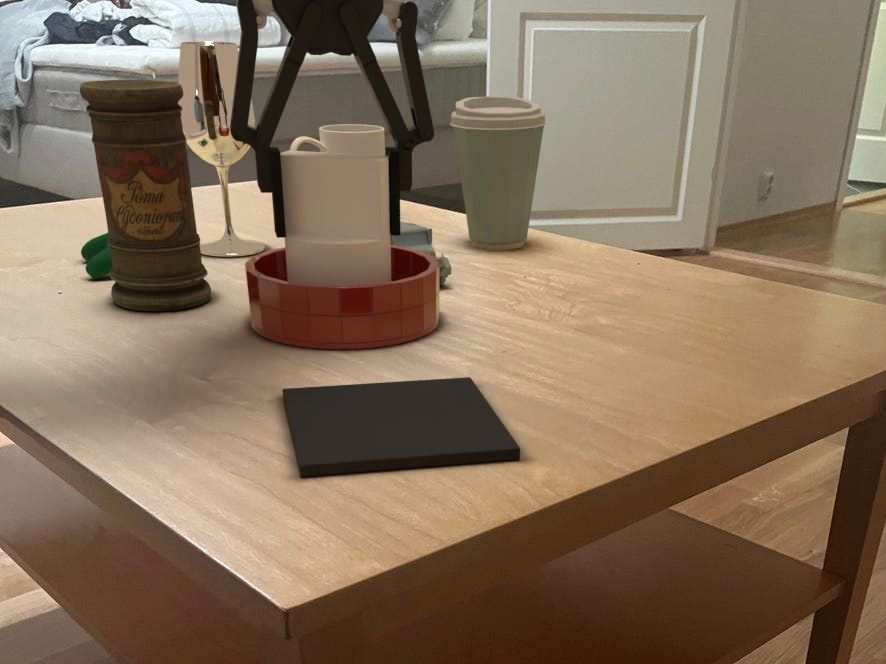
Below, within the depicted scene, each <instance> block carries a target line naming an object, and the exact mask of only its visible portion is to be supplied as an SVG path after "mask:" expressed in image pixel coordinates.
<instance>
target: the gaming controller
mask: <svg viewBox="0 0 886 664" xmlns="http://www.w3.org/2000/svg"><path fill="white" fill-rule="evenodd" d="M108 237H109V234H108V232H106V233H102V234H100V235H98V236H96V237H93V238H91V239H90V240H88V241H86V242H85V244H84V245H83V246H82V247H81V250H80V255H81V257H82V259H84V260H85V261H86V262H87V263H86V265H85V272H86V274H87V275H89V277H90V278H91V279H92V280H97V279H101V278H104V277H108V276H110V273H111V269H112V267H113V265H112V259H111V252H110V247H109V244H108Z"/></svg>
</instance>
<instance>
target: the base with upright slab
mask: <svg viewBox="0 0 886 664" xmlns="http://www.w3.org/2000/svg"><path fill="white" fill-rule="evenodd" d="M280 157H281V171H282V186H283V200H284V214H285V228H286V237H284V247H285V250H286V264H287V278H288V282H296V283H303V284H311V285H335V286H343V285H368V284H377V283H384V282H391V237H390V181H389V156H380V155H362V154H344V153H327V152H321V151H306V150H297V151H291V150H290V149H289V150H286V151H283V152H280Z"/></svg>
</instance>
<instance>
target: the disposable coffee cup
mask: <svg viewBox="0 0 886 664" xmlns="http://www.w3.org/2000/svg"><path fill="white" fill-rule="evenodd" d="M449 123H450V127H453V133H454V142H455V148H456V154H457V155H456V156H457V160H458V161H457V163H458V168H459V175H460V182H461V189H462V196H463V203H464V209H465V210H464V211H465V216H466V222H467V223H466V225H467V230H468V236H469V237H468V238H469V240H470V241H471V245H472V247H474V248H477V249H479V250H487V251H507V250H508V251H509V250H513V249H514V250H515V249H519V248H521V247H524V246H525V242H526V240H527V239H528V233H529V227H530V220H531V213H532V207H533V200H534V194H535V187H536V180H537V174H538V168H539V161H540V156H541V155H540V153H541V148H542V142H543V134H544V127H545V126H546V125H547V124H546V115H545V113H544V112H543V111H542V110H541V106H540V103H538V102H536V101H533V100H530V99H528V98H522V97H516V96H515V97H514V96H508V95H496V96H494V95H492V96H489V95H488V96H474V97H473V96H472V97H466V98H465V97H464V98H463V99H460V100H458V101H456V102H455V110H454V111H452V112H451V121H450V122H449Z"/></svg>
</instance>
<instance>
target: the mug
mask: <svg viewBox="0 0 886 664" xmlns="http://www.w3.org/2000/svg"><path fill="white" fill-rule="evenodd" d="M318 132H319V133H318V134H319V135H318V136H319V140H318V139H316V138H313V137H309V136H305V135H304V136H303V135H302V136H299V137H296V138H295V139H294V140H293V141H292V143H291V145H290V146H289V147H290V148H289V151H290V150H291V151H298V150H299V149H298V148H299V146H300V145H301V144H303V143H308V144H312V145H314V146H316V147H317V148H318V149H320V151H319V152H327V153H344V154H362V155H380V156H385V147H386V143H385V142H386V139H385V136H386V135H385V128H384V127H383V126H380V125H373V124H361V123H359V124H358V123H357V124H356V123H344V124H343V123H342V124H328V125H322V126H320V127H319V128H318Z"/></svg>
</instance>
